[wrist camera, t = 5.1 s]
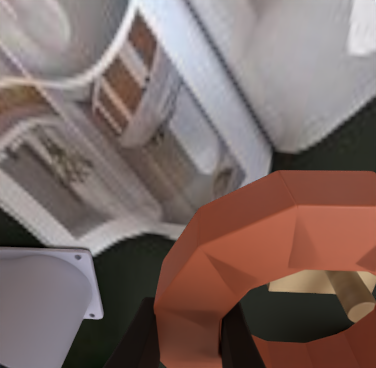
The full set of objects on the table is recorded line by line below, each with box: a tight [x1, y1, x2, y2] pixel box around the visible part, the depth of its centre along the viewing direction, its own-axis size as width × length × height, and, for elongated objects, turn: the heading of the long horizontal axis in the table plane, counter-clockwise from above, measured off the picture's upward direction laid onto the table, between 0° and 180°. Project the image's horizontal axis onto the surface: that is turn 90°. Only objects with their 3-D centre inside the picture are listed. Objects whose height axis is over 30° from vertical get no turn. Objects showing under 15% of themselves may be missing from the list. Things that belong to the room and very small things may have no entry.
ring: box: [154, 170, 376, 368], centre depth 11 cm, size 12×12×2 cm
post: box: [267, 270, 376, 323], centre depth 19 cm, size 8×8×6 cm
